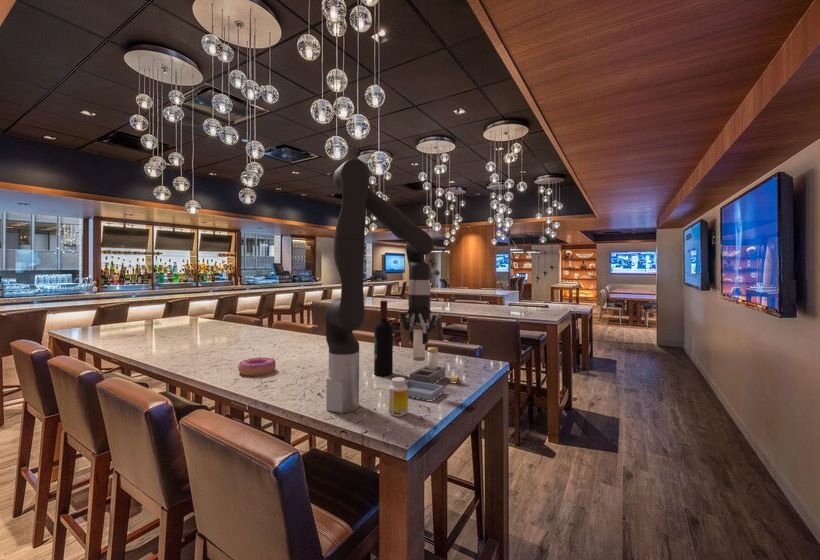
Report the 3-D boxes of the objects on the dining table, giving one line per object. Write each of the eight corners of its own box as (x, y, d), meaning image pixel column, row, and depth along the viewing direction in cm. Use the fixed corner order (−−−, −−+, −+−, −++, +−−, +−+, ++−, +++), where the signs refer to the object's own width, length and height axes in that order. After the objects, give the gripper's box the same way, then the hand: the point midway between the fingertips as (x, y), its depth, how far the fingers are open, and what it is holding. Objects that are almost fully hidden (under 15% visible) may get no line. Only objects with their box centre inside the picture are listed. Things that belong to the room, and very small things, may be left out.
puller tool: (457, 383, 136) (457, 380, 136) (450, 383, 136) (450, 379, 136) (457, 377, 144) (457, 374, 144) (451, 377, 144) (451, 373, 144)
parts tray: (443, 392, 125) (443, 385, 125) (431, 401, 117) (431, 394, 116) (407, 386, 132) (407, 379, 132) (393, 394, 123) (393, 387, 123)
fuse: (434, 380, 140) (435, 349, 140) (425, 378, 142) (425, 348, 142) (439, 377, 143) (439, 347, 143) (429, 376, 145) (430, 346, 145)
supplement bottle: (411, 413, 107) (411, 379, 107) (398, 418, 103) (398, 383, 103) (398, 408, 111) (398, 375, 110) (384, 413, 107) (385, 379, 106)
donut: (252, 379, 140) (252, 366, 140) (230, 373, 147) (230, 361, 147) (283, 371, 152) (283, 359, 152) (261, 366, 160) (261, 354, 160)
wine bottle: (384, 377, 143) (384, 302, 142) (370, 374, 147) (370, 301, 147) (396, 373, 149) (396, 300, 148) (382, 370, 153) (383, 300, 153)
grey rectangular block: (429, 387, 131) (429, 376, 131) (409, 384, 134) (409, 373, 134) (445, 377, 144) (445, 367, 144) (427, 374, 148) (427, 365, 148)
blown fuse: (421, 361, 121) (421, 325, 121) (411, 360, 123) (411, 325, 123) (426, 359, 125) (426, 324, 125) (416, 357, 127) (416, 323, 127)
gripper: (395, 293, 124) (395, 343, 124) (433, 294, 117) (433, 347, 117) (406, 292, 130) (406, 339, 131) (442, 293, 124) (442, 343, 124)
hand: (419, 342), depth 124 cm, fingers closed on blown fuse, 4 cm apart
